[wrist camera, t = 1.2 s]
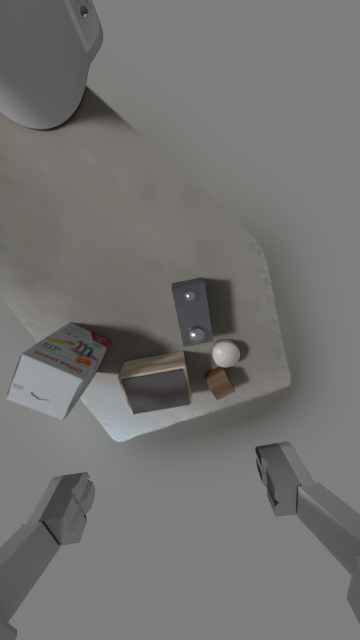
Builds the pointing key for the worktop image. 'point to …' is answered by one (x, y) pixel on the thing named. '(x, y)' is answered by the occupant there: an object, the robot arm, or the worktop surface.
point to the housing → (192, 311)
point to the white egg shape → (225, 353)
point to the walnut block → (219, 382)
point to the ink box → (57, 370)
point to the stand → (156, 383)
